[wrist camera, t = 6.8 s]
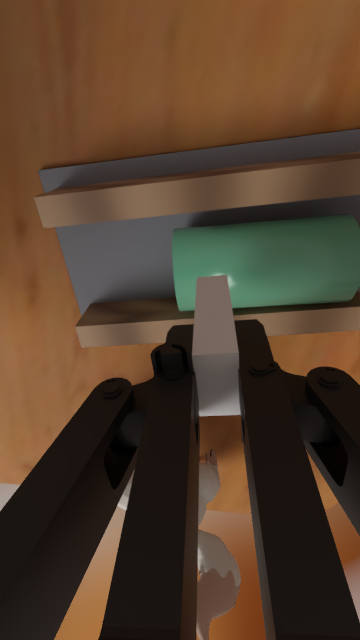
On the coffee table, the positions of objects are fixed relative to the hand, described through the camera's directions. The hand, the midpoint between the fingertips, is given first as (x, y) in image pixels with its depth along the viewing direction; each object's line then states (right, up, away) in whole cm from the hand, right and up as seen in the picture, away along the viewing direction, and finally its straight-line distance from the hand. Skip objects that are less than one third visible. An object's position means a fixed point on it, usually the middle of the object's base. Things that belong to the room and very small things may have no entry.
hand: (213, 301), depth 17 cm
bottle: (-2, +2, +5) cm, 6 cm away
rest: (+1, +4, +7) cm, 9 cm away
